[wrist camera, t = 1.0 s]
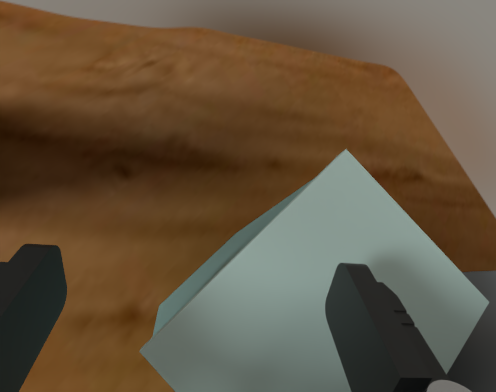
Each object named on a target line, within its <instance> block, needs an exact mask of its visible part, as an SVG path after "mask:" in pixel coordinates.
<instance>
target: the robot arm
mask: <svg viewBox="0 0 496 392" xmlns="http://www.w3.org/2000/svg"><path fill="white" fill-rule="evenodd" d="M66 295H67V285H66V279H65V274H64V268H63V262H62V257H61V251H60V249H59V247H58V246H56V245H40V244H25V245H23V246H22V247H21V248H20V249H19V250H18V251H17V252H16V254H15V255H14V256H13V257H12V258H11V259H10V261H9V262H0V392H19V390H20V388H21V386H22V384H23V383H24V381H25V379H26V377H27V375H28V373H29V371H30V369H31V368H32V366H33V364H34V362H35V360H36V358H37V356H38V355H39V353H40V351H41V349H42V347H43V345H44V343H45V341H46V340H47V338H48V336H49V334H50V332H51V330H52V328H53V326H54V325H55V323H56V321H57V319H58V317H59V315H60V313H61V311H62V309H63V307H64V304H65V301H66ZM325 314H326V319H327V323H328V326H329V328H330V331H331V334H332V337H333V340H334V343H335V346H336V349H337V352H338V355H339V357H340V360H341V363H342V366H343V369H344V372H345V375H346V378H347V381H348V384H349V386H350V389H351V392H472V391H470V390H469V389H467V388H466V387H464V386H462V385H460V384H458V383H455V382H452V381H451V380H450V379H449V378H448V376H447V374H446V373H445V371H444V370H443V368H442V366H441V365H440V363H439V362H438V360H437V358H436V357H435V355H434V354H433V352H432V350H431V349H430V347H429V346H428V344H427V342H426V341H425V339H424V338H423V336H422V334H421V333H420V331H419V330H418V328H417V327H415V323H414V322H413V320H412V318H411V317H410V315H409V314H407V310H406V309H405V307H404V306H403V304H402V302H401V301H400V299H399V298H398V296H397V295H396V294H395V293H394V292H393V291H392V290H391V289H389V288H388V287H387V286H386V285H385V284H384V283H383V282H377V281H376V279H375V278H374V276H373V274H372V272H371V271H370V269H369V267H368V266H367V265H365V264H355V263H339V264H338V266H337V268H336V271H335V274H334V277H333V280H332V283H331V286H330V289H329V292H328V294H327V297H326V302H325Z"/></svg>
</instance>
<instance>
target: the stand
mask: <svg viewBox="0 0 496 392" xmlns="http://www.w3.org/2000/svg"><path fill="white" fill-rule="evenodd" d="M462 273H463V274H464V275H465V277H466V278H467V279H468V280H469V281H470V282H471V283H472V284H473V285H474V286H475V287H476V288H477V289H478V290H479V291H480V293H481V294H482V295H483V296H484V297H485V298H486V299H487V300H488V301H489V304H488V305H487V307H486V309H485V310H484V312H483V314H482V315H481V317H480V319H479V320H478V322H477V324H476V326H475V327H474V329H473V331H472V332H471V334H470V336H469V337H468V339H467V341H466V342H465V344H464V346H463V347H462V349H461V351H460V353H459V354H458V356H457V358H456V359H455V361H454V363H453V364H452V366H451V368H450V369H449V371H448V373H447V376H448V378H449V379H450V380H451V381H452V382H455V383H458V384H460V385H462V386H464V387H466V388H467V389H469V390H470V391H472V392H496V271H478V272H462Z"/></svg>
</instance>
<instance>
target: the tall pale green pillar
mask: <svg viewBox="0 0 496 392" xmlns="http://www.w3.org/2000/svg"><path fill="white" fill-rule="evenodd" d="M339 263H355V264H365V265H367V266H368V267H369V269H370V271H371V272H372V274H373V276H374V278H375V279H376V281H377V282H383V283H384V284H385V285H386V286H387V287H388V288H389V289H391V290H392V291H393V292H394V293H395V294H396V295H397V296H398V298H399V299H400V301H401V302H402V304H403V306H404V307H405V309H406V310H407V314H409V315H410V317H411V318H412V320H413V322H414V323H415V327H417V328H418V330H419V331H420V333H421V334H422V336H423V338H424V339H425V341H426V342H427V344H428V346H429V347H430V349H431V350H432V352H433V354H434V355H435V357H436V358H437V360H438V362H439V363H440V365H441V366H442V368H443V370H444V371H445V373H446V374H447V373H448V371H449V369H450V368H451V366H452V364H453V363H454V361H455V359H456V358H457V356H458V354H459V353H460V351H461V349H462V347H463V346H464V344H465V342H466V341H467V339H468V337H469V336H470V334H471V332H472V331H473V329H474V327H475V326H476V324H477V322H478V320H479V319H480V317H481V315H482V314H483V312H484V310H485V309H486V307H487V305H488V304H489V301H488V300H487V299H486V298H485V297H484V296H483V295H482V294H481V293H480V291H479V290H478V289H477V288H476V287H475V286H474V285H473V284H472V283H471V282H470V281H469V280H468V279H467V278H466V277H465V275H464V274H463V273H462V272H461V271H460V270H459V269H458V268H457V267H456V266H455V265H454V264H453V263H452V262H451V260H450V259H449V258H448V257H447V256H446V255H445V254H444V253H443V252H442V251H441V250H440V249H439V248H438V247H437V246H436V244H435V243H434V242H433V241H432V240H431V239H430V238H429V237H428V236H427V235H426V234H425V233H424V232H423V231H422V230H421V228H420V227H419V226H418V225H417V224H416V223H415V222H414V221H413V220H412V219H411V218H410V217H409V216H408V215H407V213H406V212H405V211H404V210H403V209H402V208H401V207H400V206H399V205H398V204H397V203H396V202H395V201H394V200H393V199H392V197H391V196H390V195H389V194H388V193H387V192H386V191H385V190H384V189H383V188H382V187H381V186H380V185H379V184H378V182H377V181H376V180H375V179H374V178H373V177H372V176H371V175H370V174H369V173H368V172H367V171H366V170H365V169H364V168H363V166H362V165H361V164H360V163H359V162H358V161H357V160H356V159H355V158H354V157H353V156H352V155H351V154H350V153H349V152H348V150H347V149H346V150H344V151H343V152H341V153H340V154H339V155H338V156H337V157H336V158H335V159H334V160H333V161H332V162H331V163H330V164H329V165H328V166H327V167H326V168H325V169H324V170H323V171H322V172H321V173H320V174H319V175H318V176H317V177H315V178H314V179H313V180H311V181H310V182H308V183H307V184H305V185H304V186H303V187H301V188H300V189H298V190H297V191H295V192H294V193H293V194H291V195H290V196H288V197H287V198H285V199H284V200H283V201H281V202H280V203H278V204H277V205H276V206H274V207H273V208H271V209H270V210H268V211H267V212H266V213H264V214H263V215H261V216H260V217H258V218H257V219H256V220H254V221H253V222H251V223H250V224H249V225H247V226H246V227H244V228H243V229H241V230H240V231H239V232H237V233H236V234H235V235H234V236H232V237H231V238H230V239H229V240H228V241H227V242H226V243H225V244H224V245H223V246H222V247H221V248H220V249H219V250H218V251H217V252H216V253H215V254H213V255H212V256H211V257H210V258H209V259H208V260H207V261H206V262H205V263H204V264H203V265H202V266H201V267H200V268H199V269H198V270H197V271H195V272H194V273H193V274H192V275H191V276H190V277H189V278H188V279H187V280H186V281H185V282H184V283H183V284H182V285H181V286H180V287H179V288H177V289H176V290H175V291H174V292H173V293H172V294H171V295H170V296H169V297H168V298H167V299H166V300H165V301H164V302H163V303H162V304H161V305H160V306H159V309H158V314H157V318H156V323H155V328H154V333H153V337H152V338H151V339H150V340H149V341H148V342H147V343H146V344H145V345H144V346H143V347H142V348H141V349H140V353H141V354H142V355H143V356H144V357H145V358H146V359H147V361H148V362H149V363H150V364H151V365H152V366H153V367H154V368H155V370H156V371H157V372H158V373H159V374H160V375H161V376H162V377H163V378H164V380H165V381H166V382H167V383H168V384H169V385H170V386H171V387H172V388H173V390H174V391H175V392H351V389H350V386H349V384H348V381H347V378H346V375H345V372H344V369H343V366H342V363H341V360H340V357H339V355H338V352H337V349H336V346H335V343H334V340H333V337H332V334H331V331H330V328H329V326H328V323H327V319H326V314H325V302H326V297H327V294H328V292H329V289H330V286H331V283H332V280H333V277H334V274H335V271H336V268H337V266H338V264H339Z"/></svg>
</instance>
